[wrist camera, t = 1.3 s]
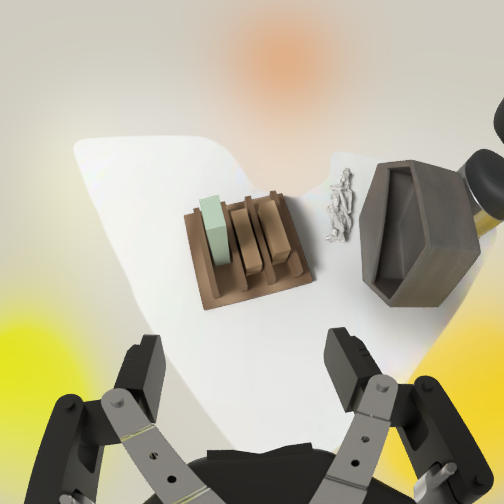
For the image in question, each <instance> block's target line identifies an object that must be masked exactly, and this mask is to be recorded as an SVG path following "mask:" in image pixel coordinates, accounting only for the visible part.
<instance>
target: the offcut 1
mask: <svg viewBox="0 0 504 504" xmlns="http://www.w3.org/2000/svg"><path fill="white" fill-rule="evenodd" d="M231 219H232V226H233V229H234V233H235V237H236V241H237V244H238V248H239V252H240V255H241V259H242V262H243V266H244V270H245V273H246V276H248V275H252V274H256V273H260V272H261V269H262V261H261V258H260V254H259V251H258V248H257V244H256V241H255V237H254V234H253V231H252V227H251V224H250V221H249V217H248V214H247V211H246V208H244V209H240V210H236V211H231Z"/></svg>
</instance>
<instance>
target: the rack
mask: <svg viewBox="0 0 504 504" xmlns="http://www.w3.org/2000/svg"><path fill="white" fill-rule="evenodd" d="M272 200H274V201H275V204H276V207H277V210H278V213H279V216H280V219H281V221H282V224H283V227H284V230H285V233H286V236H287V239H288V242H289V245H290V248H291V251H290V253H289V255H288V257H287V259H286V262H284V263H280V264H277V265H273V266H272V263H271V260H270V257H269V254H268V250H267V247H266V244H265V241H264V237H263V234H262V231H261V228H260V224H259V221H258V209H259V203H263V202H267V201H272ZM220 204H221V208H222V212H223V215H224V219H225V223H226V229H227V238H228V247H229V256H230V263H229V264H225V265H221V266H217V267H216V265H215V262H214V258H213V254H212V251H211V247H210V244H209V240H208V236H207V233H206V229H205V224H204V220H203V215H202V211H200V210H199V208H195V209H193V210H194V213H192V214H188V215H184V219H185V225H186V230H187V235H188V240H189V245H190V250H191V255H192V259H193V264H194V269H195V273H196V278H197V282H198V287H199V291H200V296H201V300H202V304H203V308H204V310H209V309H213V308H217V307H221V306H225V305H229V304H233V303H237V302H241V301H245V300H249V299H253V298H257V297H261V296H264V295H268V294H272V293H276V292H279V291H283V290H287V289H290V288H294V287H298V286H301V285H305V284H308V283H311V282H312V281H313V280H312V277H311V274H310V271H309V268H308V265H307V262H306V259H305V256H304V253H303V250H302V247H301V244H300V242H299V239H298V236H297V233H296V230H295V227H294V224H293V222H292V219H291V216H290V213H289V211H288V208H287V205H286V202H285V200H284V197H283V194H282V193H281V194H277V193H276V191H270V195H269V196H266V197H262V198H257V199H251V196H247V197H245V201H243V202H239V203H234V204H230V205H226V204H225V201H224V202H220ZM244 208H246V211H247V214H248V217H249V221H250V224H251V227H252V231H253V234H254V237H255V241H256V244H257V248H258V251H259V254H260V258H261V261H262V269H261V272H260V273H256V274H252V275H248V276H246V273H245V270H244V266H243V262H242V259H241V255H240V252H239V248H238V244H237V241H236V237H235V233H234V229H233V226H232V219H231V211H236V210H240V209H244Z"/></svg>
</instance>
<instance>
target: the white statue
mask: <svg viewBox="0 0 504 504" xmlns="http://www.w3.org/2000/svg"><path fill="white" fill-rule="evenodd" d="M349 174H351V175H354V174H353V173H351V172H350V171H349V168H345V170H344V171H343V175H341V176H342V178H341V180H340V184H338V185H332V186H330V190H331V191H334V194H332V195H331V199H332V200H333V202H332V205H329V206H328V208H327V209H326V212H327V213H330V214H329V216H330V218H331V223H332V229H333V230H332V234H331V235H329V236H327V237H326V238H325V240H327V239H330V242H333V241H335V242H339V241H341V242H345V238H344V235H343V232H344V231H343V230H345V231H346V232H348V233H350V232H351V231H349V230H350V227H351V218H350V216H349V215H348V214H349V213H351V212H352V211H351V201H352V191H351V190H350V189H349V186H350V183H349V179H348V177H349ZM348 184H349V186H348ZM333 196H334V198H333Z"/></svg>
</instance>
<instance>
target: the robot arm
mask: <svg viewBox="0 0 504 504" xmlns="http://www.w3.org/2000/svg"><path fill="white" fill-rule="evenodd" d="M494 129H495V131H496V133H497V135H498V136H499V138H500V139H501V141H502V142H503V144H504V98H503V100H502V101H501V103H500V104H499V106H498V108H497V110H496V113H495V116H494ZM457 172H458V173H461V175H462V178H463V182H464V185H465V188H466V191H467V195H468V198H469V202H470V206H471V209H472V213H473V217H474V222H475V226H476V230H477V235H478V239H479V238H480V237H481V236H482V235H484V234H485V233H487V232H488V231H490V230H491V229H493V228H494V227H496V226H497V225H498V224H500V223H501V222H503V221H504V158H503V157H501V156H500V155H498V154H497V153H495V152H493V151H491V150H488V149H481V150H478V151H476V152H475V153H474V154H473V155H472V156H471V157H470V158H469V159H468V160H467V162H466V163H465V164H464V165H463V166H462V167H461V168H460V169H459V170H458V171H457ZM324 363H325V366H326V368H327V370H328V373H329V375H330V377H331V380H332V382H333V384H334V387H335V389H336V392H337V394H338V396H339V399H340V401H341V404H342V406H343V408H344V411H345V413H347V412H352V411H354V414H355V416H354V419H353V421H352V423H351V425H350V428H349V430H348V432H347V434H346V436H345V438H344V440H343V442H342V445H341V447H340V449H339V451H338V453H337V455H335V454H334V453H331V452H328V451H325V450H320V449H313V448H312V444H311V442H310V443H303V444H296V445H288V446H284V447H281V448H278V449H275V450H272V451H269V452H265V453H262V454H257V453H250V452H243V451H237V450H207V457H204V458H200V459H197V460H194V461H192V462H190V463H188V464H186V463H185V462H184V461H183V460H182V459H181V457H180V456H179V455H178V454H177V452H175V450H174V449H173V448H172V446H171V445H170V444H169V443H168V441H167V440H166V439H165V438H164V436H163V435H162V434H161V432H160V431H159V430H158V428H157V427H156V426H155V425H152V424H151V423H156V418H157V413H158V407H159V402H160V396H161V391H162V386H163V381H164V376H165V370H166V362H165V356H164V352H163V347H162V342H161V338H160V335H143V338H142V340H141V343H140V345H133V346H132V347H131V348H130V349H129V350H128V351H127V353H126V356H125V358H124V361H123V363H122V367H121V369H120V371H119V374H118V377H117V380H116V383H115V386H114V388H113V389H111V390H109V391H108V392H106V393H105V394H104V395H103V396H102V399H100V400H95V401H88V402H83V401H82V399H81V398H80V397H79V396H78V395H75V394H66V395H64V396H62V397H60V398H59V399H58V400H57V402H56V404H55V406H54V409H53V412H52V414H51V416H50V419H49V422H48V424H47V427H46V430H45V433H44V436H43V438H42V441H41V445H40V447H39V451H38V454H37V457H36V460H35V463H34V467H33V470H32V474H31V477H30V481H29V485H28V489H27V493H26V497H25V501H24V504H95V503H96V495H97V488H98V481H99V475H100V468H101V463H102V457H103V451H104V446H105V445H111V444H119V443H122V444H123V445H124V447H125V449H126V450H127V452H128V453H129V455H130V457H131V458H132V460H133V461H134V463H135V465H136V466H137V467H138V469H139V471H140V472H141V473H142V475H143V476H144V478H145V479H146V481H147V482H148V483H149V485H150V486H151V488H152V489H153V490H154V492H155V494H153V495H152V496H151V497H150V498H149V499H148V500H147V501H145V502H144V503H143V504H472V503H474V502H475V501H476V500H478V499H479V498H481V497H482V496H483V495H485V494H486V493H487V492H488V491H489V490H490V489H491V488H492V486H493V482H494V476H493V473H492V471H491V469H490V467H489V465H488V464H487V462H486V460H485V458H484V456H483V454H482V452H481V450H480V449H479V447H478V445H477V444H476V442H475V440H474V438H473V436H472V435H471V433H470V431H469V429H468V428H467V426H466V424H465V423H464V421H463V419H462V418H461V416H460V415H459V413H458V411H457V410H456V408H455V407H454V405H453V404H452V402H451V400H450V399H449V397H448V395H447V394H446V392H445V391H444V389H443V388H442V386H441V385H440V383H439V382H438V381H437V380H436V379H435V378H433V377H430V376H420V377H418V378H417V379H416V380H415V382H414V384H397V382H396V381H395V380H394V379H393V378H392V377H390V376H388V375H384V374H382V372H381V371H380V369H379V367H378V366H377V364H376V363H375V361H374V359H373V358H372V356H370V353H369V351H368V350H367V348H366V346H365V345H364V343H363V342H362V341H361V340H360V339H358V338H357V337H356V336H350V335H349V333H348V331H347V330H346V328H345V327H340V328H331V329H329V330H328V334H327V340H326V345H325V350H324ZM389 427H396V429H397V431H398V433H399V435H400V438H401V440H402V442H403V445H404V447H405V449H406V452H407V454H408V457H409V459H410V461H411V464H412V466H413V469H414V471H415V474H416V476H417V479H418V481H417V482H416V483H415V486H414V500H413V499H412V498H411V497H409V496H407V495H405V494H403V493H401V492H399V491H397V490H395V489H394V488H392V487H390V486H388V485H386V484H384V483H383V482H381V481H379V480H377V479H375V478H374V477H372V475H373V473H374V470H375V468H376V465H377V463H378V460H379V457H380V454H381V451H382V449H383V446H384V443H385V440H386V437H387V434H388V430H389Z"/></svg>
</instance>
